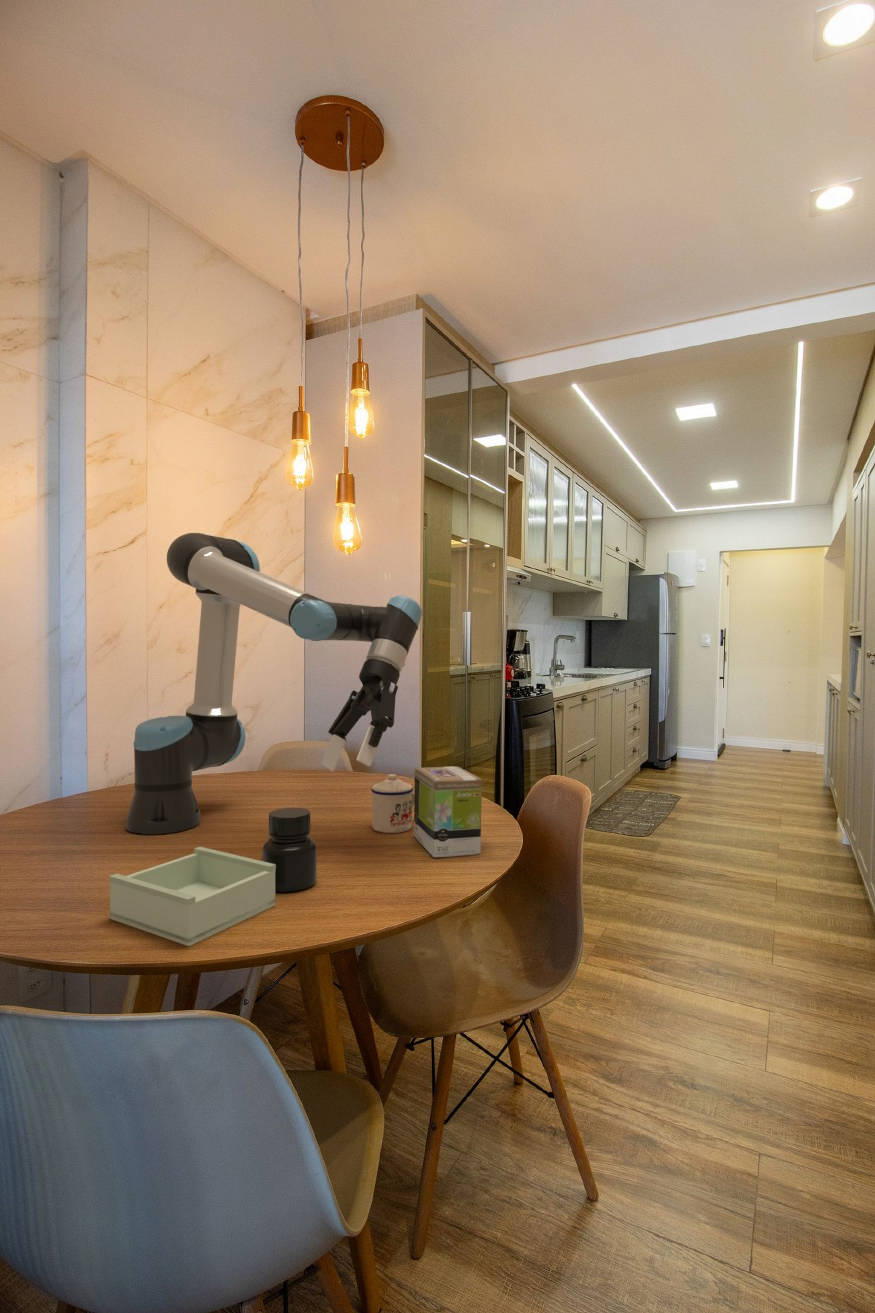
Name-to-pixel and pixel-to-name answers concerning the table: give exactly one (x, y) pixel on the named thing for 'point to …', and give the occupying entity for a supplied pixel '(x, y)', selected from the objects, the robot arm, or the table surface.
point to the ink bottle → (291, 849)
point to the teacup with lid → (392, 805)
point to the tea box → (448, 811)
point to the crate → (193, 895)
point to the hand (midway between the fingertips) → (344, 766)
